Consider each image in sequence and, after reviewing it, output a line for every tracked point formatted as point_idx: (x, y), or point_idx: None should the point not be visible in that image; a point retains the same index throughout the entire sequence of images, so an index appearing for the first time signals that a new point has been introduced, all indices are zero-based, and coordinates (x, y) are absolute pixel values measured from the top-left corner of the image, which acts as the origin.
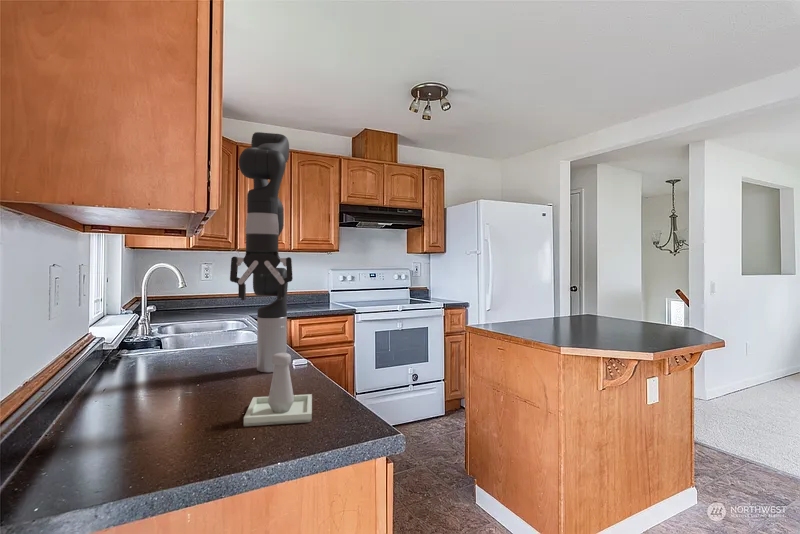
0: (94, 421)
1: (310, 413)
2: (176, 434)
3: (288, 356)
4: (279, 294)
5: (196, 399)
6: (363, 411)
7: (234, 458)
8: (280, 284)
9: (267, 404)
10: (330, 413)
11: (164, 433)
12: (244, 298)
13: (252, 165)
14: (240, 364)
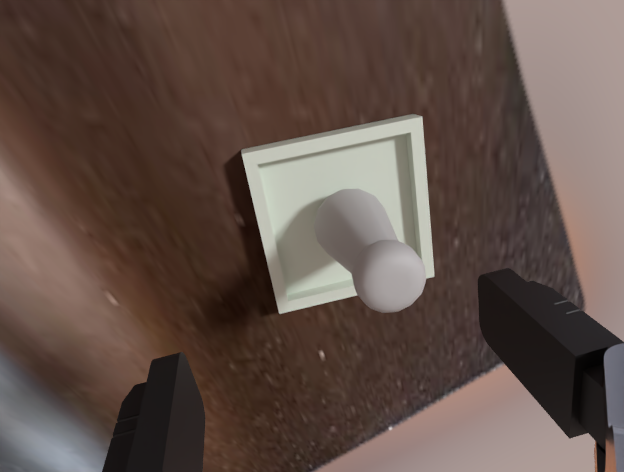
0: None
1: (431, 275)
2: (143, 353)
3: (421, 293)
4: (513, 362)
5: (10, 96)
6: (547, 193)
7: (314, 425)
8: (590, 421)
9: (292, 170)
10: (467, 211)
11: (111, 351)
12: (201, 412)
13: None
14: None
